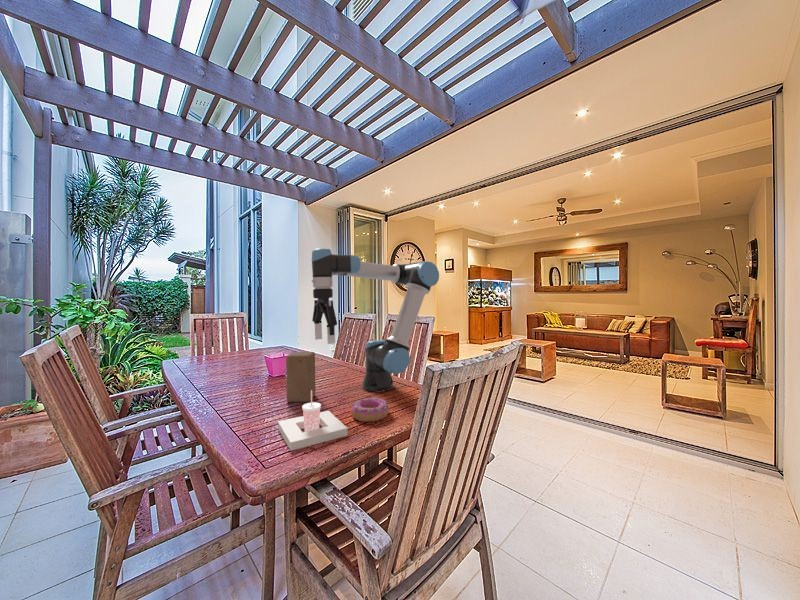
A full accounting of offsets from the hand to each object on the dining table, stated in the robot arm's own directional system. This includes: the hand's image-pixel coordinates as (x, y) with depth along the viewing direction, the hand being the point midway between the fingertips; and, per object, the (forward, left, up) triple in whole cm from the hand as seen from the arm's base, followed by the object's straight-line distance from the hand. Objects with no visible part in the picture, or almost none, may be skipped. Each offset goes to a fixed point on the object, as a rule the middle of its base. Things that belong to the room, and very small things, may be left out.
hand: (324, 341), depth 125 cm
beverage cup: (+11, +18, -27) cm, 34 cm away
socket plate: (+11, +18, -27) cm, 34 cm away
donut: (-12, +16, -28) cm, 34 cm away
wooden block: (+5, -17, -27) cm, 33 cm away
